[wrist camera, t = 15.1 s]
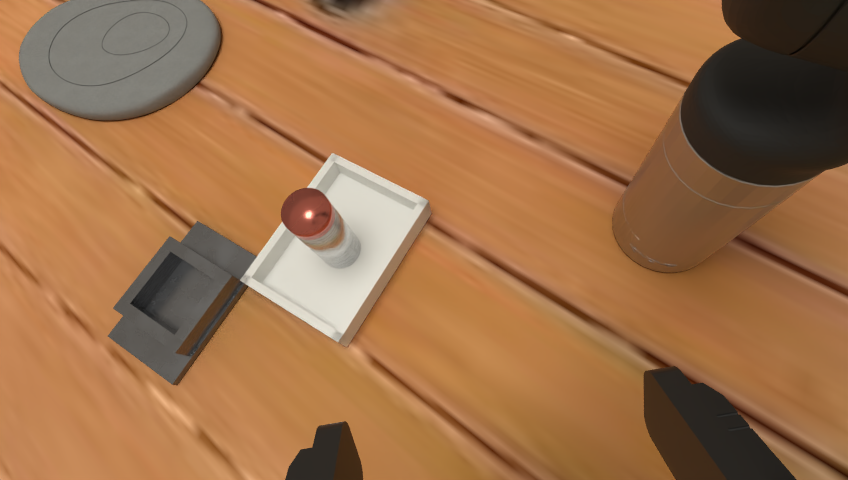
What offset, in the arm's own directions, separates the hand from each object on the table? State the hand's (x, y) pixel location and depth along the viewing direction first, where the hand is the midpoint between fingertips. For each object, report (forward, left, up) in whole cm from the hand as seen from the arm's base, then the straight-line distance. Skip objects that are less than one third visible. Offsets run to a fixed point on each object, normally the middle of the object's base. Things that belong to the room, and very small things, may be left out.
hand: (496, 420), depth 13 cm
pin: (-7, -20, -30) cm, 37 cm away
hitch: (+5, -31, -31) cm, 44 cm away
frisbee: (-15, -61, -31) cm, 70 cm away
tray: (-7, -20, -31) cm, 37 cm away
